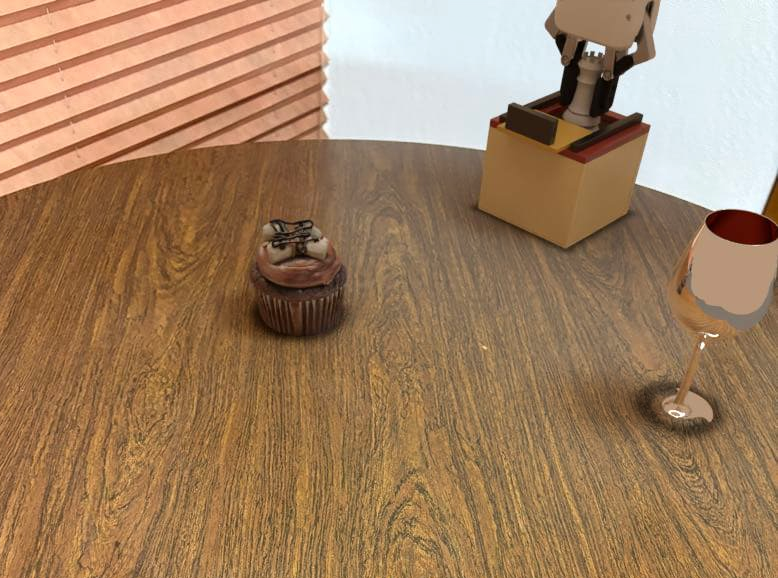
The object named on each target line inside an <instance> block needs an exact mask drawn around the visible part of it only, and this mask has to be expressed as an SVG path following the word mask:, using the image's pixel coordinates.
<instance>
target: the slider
mask: <svg viewBox="0 0 778 578" xmlns="http://www.w3.org/2000/svg"><path fill="white" fill-rule="evenodd" d="M506 110H507V111H506V112H507V116H506V122H505V123H502V124H500V125H498V126H497V130H498V131H500V132H503V133H505V134H508V135H510V136H513V137H515V138H518V139H520V140H523V141H525V142H528V143H530V144H533V145H535V146H538V147H540V148H542V149H545V150H547V151H550V152H552V153H555V154H557V153H559V152H561V151H563V150H565V149H567V148H569V147H570V145H571V143H572V142H574V141H576V140H578V139H580V138H582V137H585V136H587V135H589V134H591V133H593V131H590V130H588V129H585V128H582V127H580V126H577V125H575V124H572V123H569V122H567V121H564V120H561V119H559V118H556V117H554V116H551V115H548V114H546V113H543V112H540V111H538V110H533V109H530V108H527V107H525V106H523V105H522V104H520V103H517V102H511V103H508V104H507V109H506Z"/></svg>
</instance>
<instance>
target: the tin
mask: <svg viewBox="0 0 778 578" xmlns="http://www.w3.org/2000/svg"><path fill="white" fill-rule="evenodd" d="M560 95H561V93H560V89H559V90H557V91H555V92H552V93H549V94H547V95H545V96H542V97H539V98H537V99H535V100H532V101H530V102H528V103H525V104H523V105H522V106H525V107H527V108H530V109H533V110H538V111H540V112H543V113H546V114H548V115H551V116H554V117H556V118H559V119H561V120H564V119H563V117H562V116H563V114H564V112H565V111H566V110H567V109H568V106H569V105H570V104H569V105H566V106H564V107H563V106H561V105H559V100H560ZM506 116H507V111H506V112H503V113H501V114H499V115H497V116H494V117H492V118H490V119H489V127H488V133H487V138H486V140H487V141H486V147H485V154H484V161H483V169H482V175H481V182H480V183H481V184H480V190H479V197H478V206H477V209H479V210H481V211H483V212H485V213H487V214H490V215H491V216H494V217H496V218H498V219H500V220H503V221H505V222H507V223H509V224H511V225H514V226H516V227H517V228H520V229H522V230H524V231H526V232H529V233H531V234H533V235H535V236H537V237H539V238H541V239H543V240H545V241H547V242H550V243H552V244H553V245H557V246H559V247H560V248H563V249H565V250H566V249H568V248H569V247H572V246H573V245H574V244H576V243H578V242H579V241H581V240H584V239H585V238H587V237H588V236H590V235H592V234H594V233H596V232H597V231H599V230H600V229H602V228H604V227H605V226H607V225H609V224H611V223H612V222H614V221H616V220H618V219H620V218H621V217H623V216H625V215H627V214H628V211H629V207H630V204H631V201H632V196H633V193H634V189H635V185H636V182H637V178H638V174H639V170H640V167H641V164H642V160H643V156H644V152H645V148H646V145H647V142H648V137H649V135H650V130H651V124H649V123H647V122H643V120H644V119H643V118H644V114H643V113H640V112H638V111H636V112H633V113H631V114H629V115H624V114H621V113H618V112H616V111H613V110H610V109H609V111H608V112H607V113H605V114H603V115H600V123H599V124H598V127H599V130H597V131H595V132H593V133H591V134H589V135H587V136H585V137H582V138H580V139H578V140H576V141H574V142H572V143H571V145H570V147H569V148H567V149H565V150H563V151H561V152H559V153H557V154H555V153H552V152H550V151H547V150H545V149H542V148H540V147H538V146H535V145H533V144H530V143H528V142H525V141H523V140H520V139H518V138H515V137H513V136H510V135H508V134H505V133H503V132H500V131H498V130H497V126H498V125H500V124H502V123H505V122H506Z"/></svg>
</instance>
